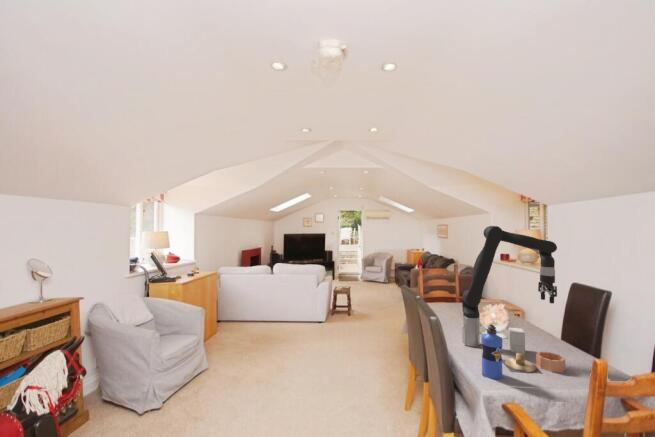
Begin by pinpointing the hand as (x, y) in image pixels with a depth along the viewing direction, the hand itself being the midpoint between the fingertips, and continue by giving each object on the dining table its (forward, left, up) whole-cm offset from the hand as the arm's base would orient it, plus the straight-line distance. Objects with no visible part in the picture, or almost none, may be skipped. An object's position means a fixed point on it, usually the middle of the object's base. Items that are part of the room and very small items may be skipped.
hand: (547, 301), depth 197 cm
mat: (-27, -29, -28) cm, 48 cm away
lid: (-27, -29, -28) cm, 48 cm away
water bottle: (-45, -41, -28) cm, 67 cm away
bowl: (-12, -28, -28) cm, 41 cm away
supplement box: (-20, -7, -28) cm, 35 cm away
